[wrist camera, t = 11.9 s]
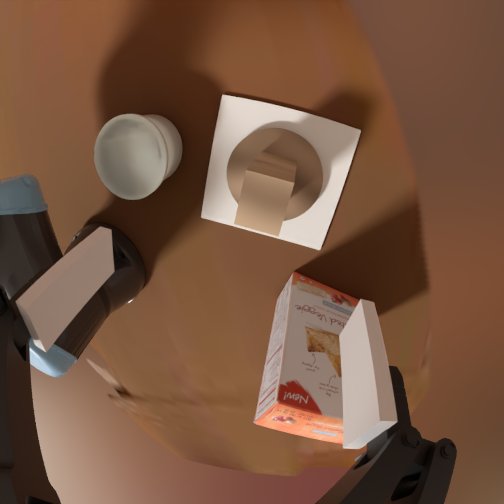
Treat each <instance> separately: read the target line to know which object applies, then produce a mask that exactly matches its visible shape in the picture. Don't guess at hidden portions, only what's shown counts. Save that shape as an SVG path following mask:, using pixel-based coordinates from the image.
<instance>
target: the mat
mask: <svg viewBox="0 0 504 504" xmlns="http://www.w3.org/2000/svg"><path fill="white" fill-rule="evenodd" d="M267 128H281V129H286V130H289V131H292V132H294V133H296V134H299V135H300V136H302V137H303V138H304V139H306V140H307V141H308V142H309V143H310V144H311V145H312V146H313V148H314V149H315V151H316V152H317V154H318V156H319V159H320V162H321V165H322V170H323V185H322V189H321V192H320V194H319V197H318V198H317V200H316V202H315V203H314V204H313V206H312V207H311V208H310V209H309V210H308V211H306V212H305V213H304V214H302V215H300V216H298V217H296V218H294V219H291V220H287V221H283V223H282V227H281V230H280V233H279V236H275V235H271V234H268V233H264V232H261V231H257V230H254V229H250V228H246V227H243V226H239V225H236V224H234V222H235V217H236V213H237V208H238V203H237V202H236V201H235V199H234V198H233V196H232V194H231V192H230V190H229V187H228V183H227V172H226V171H227V164H228V160H229V158H230V155H231V153H232V151H233V150H234V148H235V147H236V146H237V145H238V143H239V142H241V141H242V140H243V139H244V138H246V137H247V136H248V135H250V134H252V133H254V132H256V131H259V130H263V129H267ZM360 133H361V130H359V129H356V128H353V127H350V126H347V125H344V124H341V123H338V122H335V121H332V120H329V119H326V118H322V117H319V116H316V115H312V114H309V113H305V112H302V111H298V110H294V109H290V108H286V107H282V106H278V105H274V104H269V103H265V102H260V101H255V100H250V99H245V98H240V97H234V96H228V95H222V99H221V104H220V109H219V114H218V119H217V124H216V129H215V134H214V140H213V145H212V151H211V157H210V163H209V169H208V175H207V181H206V187H205V194H204V200H203V207H202V214H201V218H205V219H208V220H212V221H216V222H220V223H224V224H227V225H231V226H235V227H238V228H242V229H246V230H249V231H253V232H257V233H260V234H264V235H268V236H271V237H275V238H278V239H282V240H286V241H289V242H293V243H296V244H300V245H303V246H307V247H310V248H314V249H317V250H320V249H321V246H322V244H323V241H324V239H325V236H326V233H327V231H328V228H329V225H330V222H331V220H332V217H333V214H334V211H335V209H336V206H337V203H338V200H339V197H340V194H341V191H342V189H343V186H344V183H345V180H346V177H347V174H348V171H349V168H350V165H351V161H352V158H353V155H354V152H355V149H356V146H357V142H358V139H359V136H360Z"/></svg>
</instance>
